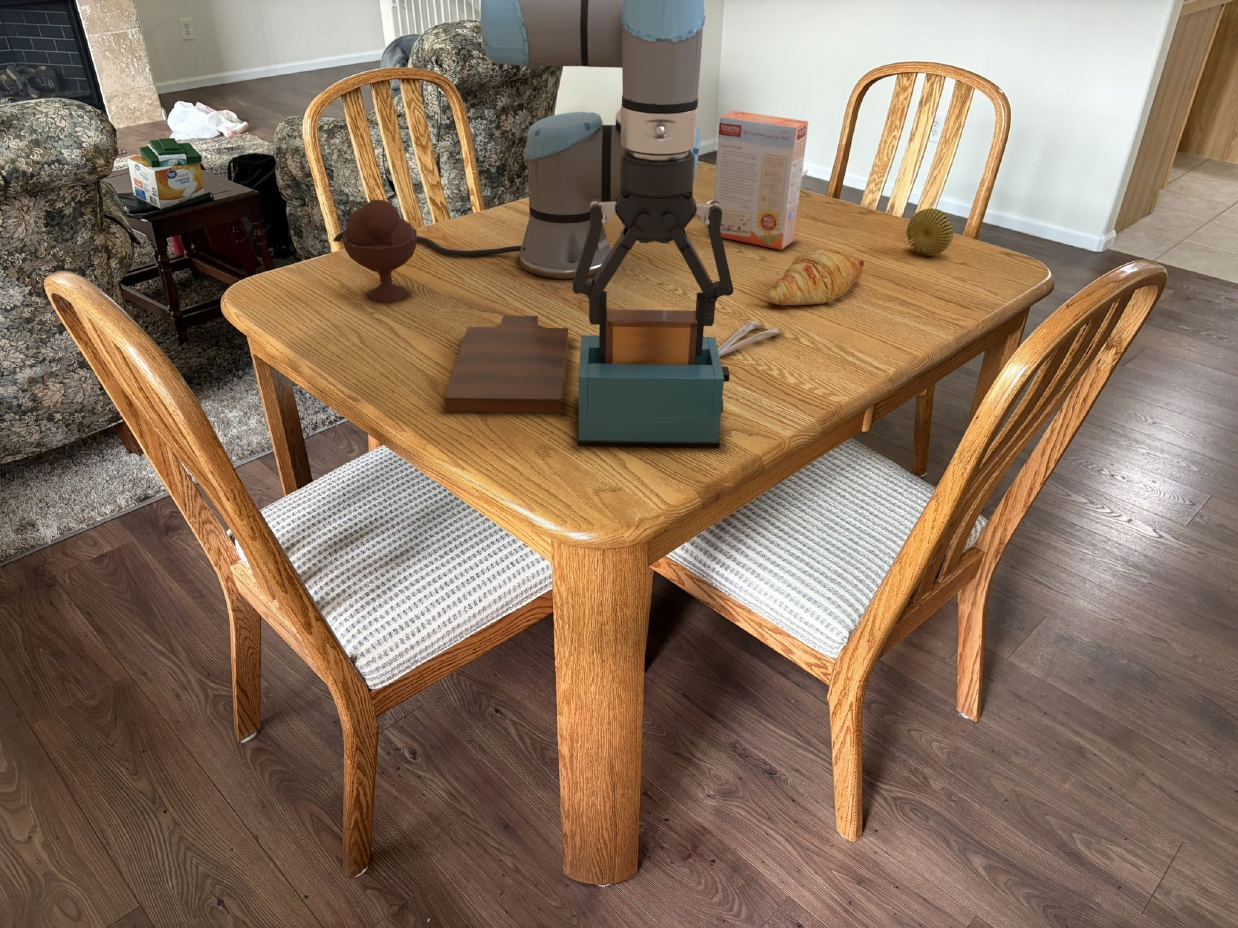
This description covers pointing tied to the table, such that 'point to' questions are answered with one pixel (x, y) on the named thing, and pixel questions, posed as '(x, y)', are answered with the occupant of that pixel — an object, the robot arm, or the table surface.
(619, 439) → the toaster
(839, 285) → the croissant
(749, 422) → the table surface
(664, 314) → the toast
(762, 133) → the cracker box
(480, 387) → the bread board
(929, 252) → the sea urchin shell
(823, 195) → the table surface
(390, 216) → the ice cream bowl
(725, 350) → the tweezers
